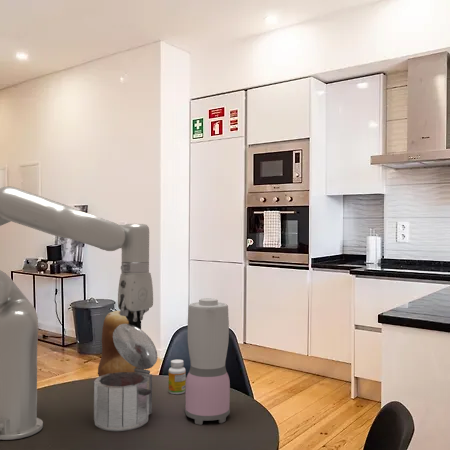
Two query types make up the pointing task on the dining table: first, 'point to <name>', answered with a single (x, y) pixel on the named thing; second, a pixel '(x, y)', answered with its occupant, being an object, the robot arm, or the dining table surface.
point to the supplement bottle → (177, 377)
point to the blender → (208, 361)
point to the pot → (122, 400)
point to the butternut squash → (112, 347)
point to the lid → (135, 347)
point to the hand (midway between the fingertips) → (134, 334)
